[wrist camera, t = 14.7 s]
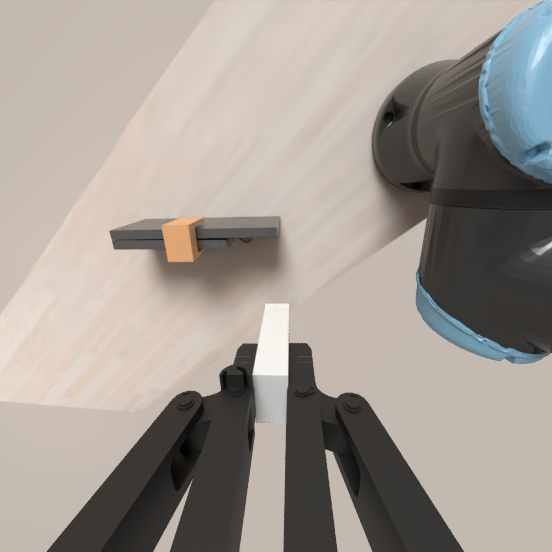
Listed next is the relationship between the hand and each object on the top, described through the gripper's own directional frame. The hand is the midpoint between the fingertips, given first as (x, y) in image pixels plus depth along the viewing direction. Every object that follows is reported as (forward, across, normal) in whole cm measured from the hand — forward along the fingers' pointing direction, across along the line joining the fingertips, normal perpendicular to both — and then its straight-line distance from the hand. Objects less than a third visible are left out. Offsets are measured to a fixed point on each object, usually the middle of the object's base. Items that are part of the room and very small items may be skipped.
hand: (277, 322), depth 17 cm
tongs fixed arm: (+26, +12, -1) cm, 29 cm away
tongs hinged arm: (+26, +15, -1) cm, 30 cm away
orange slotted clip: (+21, +13, -2) cm, 25 cm away
